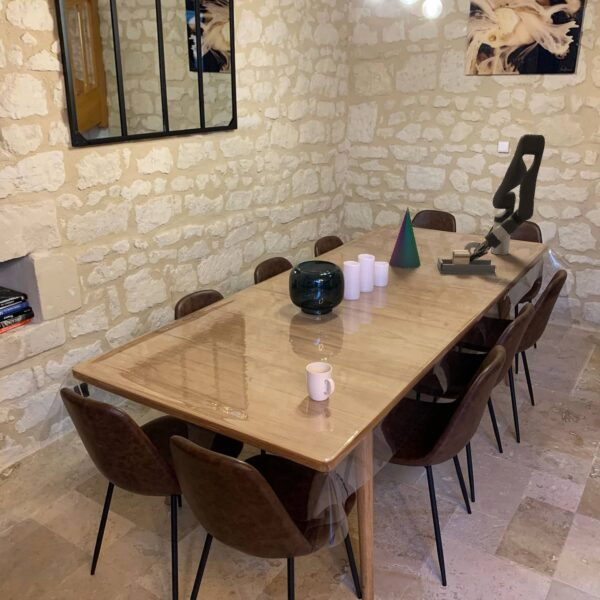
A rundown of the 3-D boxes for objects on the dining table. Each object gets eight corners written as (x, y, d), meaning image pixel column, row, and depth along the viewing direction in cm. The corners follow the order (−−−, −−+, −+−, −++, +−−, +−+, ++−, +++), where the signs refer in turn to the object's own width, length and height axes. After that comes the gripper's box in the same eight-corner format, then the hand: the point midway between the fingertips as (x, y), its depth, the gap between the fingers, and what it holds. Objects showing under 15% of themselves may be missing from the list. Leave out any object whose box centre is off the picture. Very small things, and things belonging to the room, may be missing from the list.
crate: (451, 265, 294) (452, 249, 291) (466, 265, 293) (467, 250, 290) (453, 269, 287) (454, 253, 284) (468, 269, 286) (470, 253, 284)
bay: (436, 265, 298) (437, 255, 296) (489, 266, 296) (490, 256, 294) (440, 273, 285) (441, 263, 283) (495, 274, 283) (496, 264, 281)
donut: (482, 259, 308) (484, 240, 304) (482, 261, 305) (484, 242, 301) (462, 258, 310) (464, 239, 307) (462, 260, 307) (464, 241, 304)
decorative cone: (426, 263, 302) (430, 205, 292) (409, 270, 291) (413, 210, 280) (400, 257, 312) (403, 201, 302) (382, 264, 301) (385, 206, 291)
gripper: (489, 227, 289) (461, 251, 294) (495, 234, 276) (466, 258, 282) (499, 238, 290) (471, 262, 295) (505, 245, 278) (476, 269, 283)
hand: (469, 260), depth 288 cm, fingers closed
